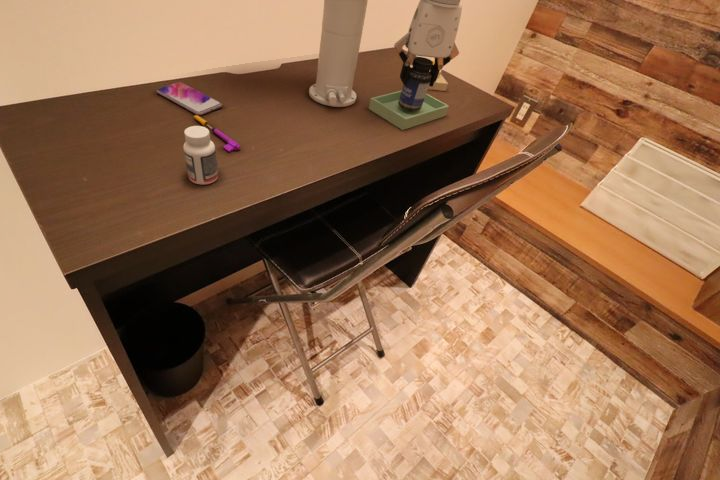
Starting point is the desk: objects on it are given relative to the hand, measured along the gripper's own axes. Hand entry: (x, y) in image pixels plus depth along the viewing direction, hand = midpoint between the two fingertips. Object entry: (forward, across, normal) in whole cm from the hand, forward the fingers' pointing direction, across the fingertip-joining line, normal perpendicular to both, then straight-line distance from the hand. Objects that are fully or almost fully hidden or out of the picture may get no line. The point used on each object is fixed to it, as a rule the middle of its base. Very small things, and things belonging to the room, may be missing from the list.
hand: (416, 82), depth 89 cm
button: (+4, +12, +23) cm, 26 cm away
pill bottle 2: (+6, 0, 0) cm, 6 cm away
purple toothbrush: (+8, -48, -18) cm, 52 cm away
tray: (+8, 0, 0) cm, 8 cm away
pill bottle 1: (+8, -48, -34) cm, 59 cm away
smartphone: (+7, -54, -4) cm, 55 cm away
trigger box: (+8, +12, +22) cm, 26 cm away
